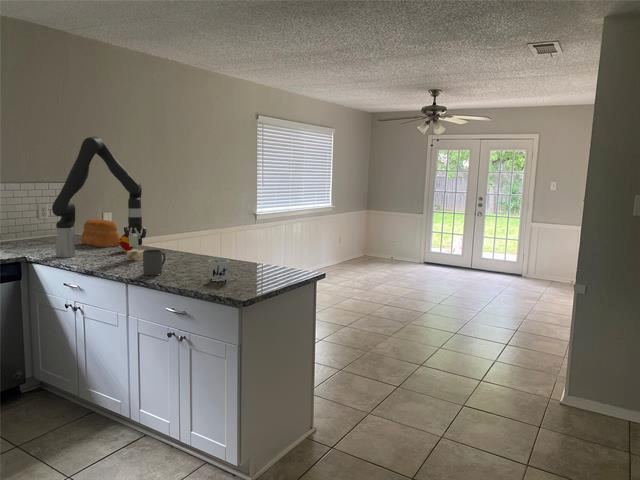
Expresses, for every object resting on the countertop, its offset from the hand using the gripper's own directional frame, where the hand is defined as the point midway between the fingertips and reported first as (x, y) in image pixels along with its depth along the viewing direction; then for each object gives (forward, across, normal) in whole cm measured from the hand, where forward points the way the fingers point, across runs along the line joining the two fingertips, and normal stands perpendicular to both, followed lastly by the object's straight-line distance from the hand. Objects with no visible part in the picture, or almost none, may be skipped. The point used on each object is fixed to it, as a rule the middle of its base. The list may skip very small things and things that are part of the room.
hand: (135, 244), depth 287 cm
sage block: (+1, 0, 0) cm, 1 cm away
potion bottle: (+9, -18, +20) cm, 28 cm away
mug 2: (+9, +65, -32) cm, 73 cm away
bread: (+9, -49, +37) cm, 62 cm away
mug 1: (+9, +30, -30) cm, 43 cm away
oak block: (+9, 0, 0) cm, 9 cm away
